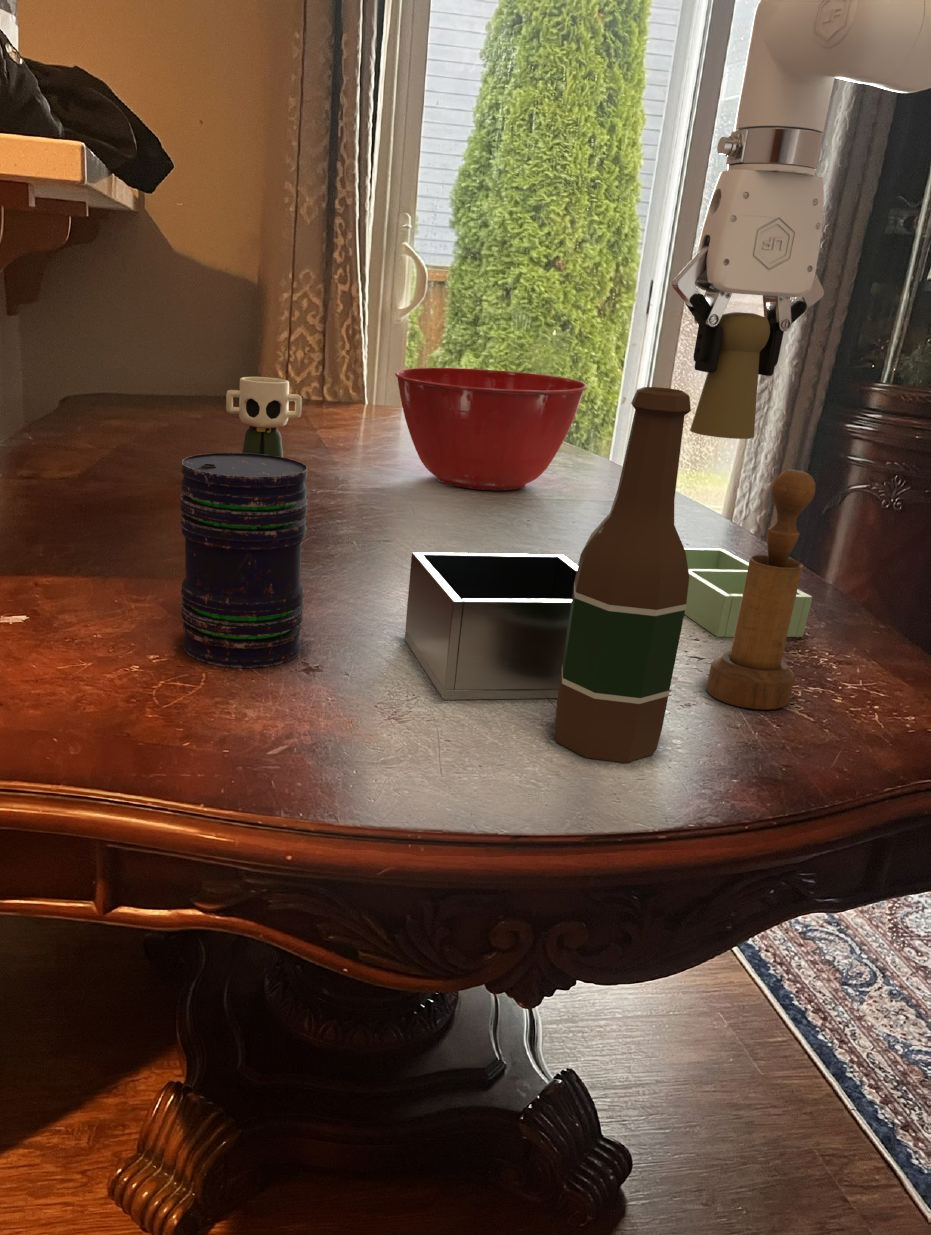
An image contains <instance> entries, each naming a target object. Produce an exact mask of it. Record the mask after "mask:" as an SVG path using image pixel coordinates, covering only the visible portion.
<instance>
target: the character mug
mask: <svg viewBox="0 0 931 1235" xmlns="http://www.w3.org/2000/svg"><path fill="white" fill-rule="evenodd" d="M225 396H226V398H225V402H226V403H225V410H226V413H228V414H230V415H231V414H232V415H238V417H239V419H240V422H241V423H242V424H243V425H245V426H248V428H247V429H246V432H245V434H244V440H243V445H242V452H241V453H251V454H263V455H271V456H278V457H283V458H284V448H283V440H282V439H283V438H282V434H281V432H280V431H279V430H278V429H279V428H282V427H284V426H286V425H287V424H288V421H289V419H290V418H292V419H299V418H301V416H302V406H303V398H302V395H300V394H295V393H290V381H289V380H287V379H283V378H278V377H267V376H243V377H240V378H239V389H228V390H226V394H225ZM234 398H239V405H238V406H234ZM290 402H294V410H289V403H290Z"/></svg>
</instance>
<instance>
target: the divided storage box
mask: <svg viewBox="0 0 931 1235" xmlns="http://www.w3.org/2000/svg"><path fill="white" fill-rule="evenodd" d="M684 549H685V552H686V558H687V565H688V571H689V584H688V593H687V602H686V608H685V613H684V616H686V617H688V618H689V619H690V620H692V621H693V622H695V623H696V624H698V625H699V626H700V627H702V628H703V629H705V630H706V631H708V632H709V633H710V634H712V635H714V636H715V637H716V638H734V634H735V630H736V625H737V620H738V615H739V610H740V605H741V600H742V595H743V590H744V585H745V580H746V575H747V570H748V565H749V561H746V560H745V559H743V558H741V557H740V556H737V555H735V554H733V553H732V552H730V551H728V550H726V549H724V548H709V547H708V548H707V547H705V548H704V547H702V548H701V547H684ZM812 601H813V596H812V595H810V594H808V593H806V592H804V591H802V590H801V589H799V588H798V590H797V594H796V598H795V603H794V607H793V611H792V616H791V620H790V625H789V629H788V634H787V638H803V637H804V634H805V630H806V626H807V622H808V618H809V614H810V610H811V606H812V603H813V602H812Z"/></svg>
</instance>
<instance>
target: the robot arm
mask: <svg viewBox="0 0 931 1235" xmlns="http://www.w3.org/2000/svg"><path fill="white" fill-rule="evenodd" d="M752 18H753V19H752V23H751V29H750V35H749V40H748V48H747V54H746V58H745V65H744V71H743V76H742V82H741V88H740V93H739V100H738V105H737V110H736V117H735V123H734V128H733V130H732V131H731V135H730V136H722V137H721V138H719V139H718V142H717V147H716V151H717V153H718V155H724V156H725V157H726V165H727V169H726V170H722V171H720V172H719V176H718V178H717V180H716V182H715V186H714V189H713V191H712V194H711V198H710V200H709V203H708V206H707V209H706V214H705V216H704V220H703V224H702V227H701V233H700V237H699V241H698V244H697V245H698V246H697V251H696V254H695V256H694V257H693V258H692V259H691V260H689V262H688V263H687V264H686V266H684V267H683V269H682V270H681V271H680V272H679V273H678V274H677V275H676V276H675V277H674V278H673V280H672V282H671V286H672V288H673V290H674V291H675V292H676V293H677V294H678V296H679V297H680V298H681V299H682V300H683V301H684V304H685V306H686V307H687V309H688V310H689V312H690V313H691V316H693V321H694V324H696V325H697V326H698V327H697V334H696V337H695V344H694V351H693V361H694V370H695V371H698V372H702V373H703V372H704V373H706V374H707V373H713V372H715V371H716V369H717V364H718V359H719V353H720V348H721V342H722V337H723V328H722V327H719V322H720V319H721V317H722V315H723V314H725V310H726V309H727V306H728V304H729V301H730V299H731V297H732V295H733V294H737V295H738V294H739V295H752V296H762V306H763V317H765V318H766V319H767V320H768V322H769V325H770V335H769V339H768V341H767V344H766V346H765V347H764V348H763V349H762V350H761V351H760V355H759V370H758V375H759V376H765V377H773V375H774V371H775V367H776V366H777V364H778V363H779V357H780V353H781V349H782V348H781V347H782V343H783V338H784V334H785V332H788V331H789V330H790V329H791V327H792V324H793V323H794V322H795V321H797V320H798V319H799V318H800V317H802V315H803V314H804V313H805V312H806V310H807V309H810V308H811V307H812V306H813V305H815V304H816V303H817V302H818V301H820V300H821V299H823V298H824V296H825V289H824V288H823V285H822V283H821V281H820V279H819V276H818V274H817V272H816V271H817V267H818V266H817V265H818V258H819V252H820V246H821V239H822V238H821V237H822V229H823V220H824V202H825V201H824V200H825V196H824V195H825V192H824V191H825V188H824V187H825V183H824V176H823V177H822V176H818V175H817V176H816V172H817V167H818V162H819V157H820V152H821V147H822V143H823V137H824V133H825V126H826V121H827V117H828V113H829V108H830V103H831V97H832V92H833V87H834V82H835V79H839V80H843V81H847V82H851V83H852V82H853V83H857V84H862V85H863V84H864V85H869V86H872V87H875V88H879V89H883V90H886V91H890V92H895V93H900V94H911V93H917V92H918V93H919V92H922V91H926V90H928V89H931V0H759V1H758V3H757V5H756V7H755V10H754V14H753V17H752ZM698 289H700V290H702V291H705V293H704V294H702V293H700V291H699V290H698ZM791 298H794V299H792V300H791Z"/></svg>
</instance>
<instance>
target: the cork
mask: <svg viewBox="0 0 931 1235" xmlns="http://www.w3.org/2000/svg"><path fill="white" fill-rule="evenodd" d="M719 327H722V328H723V337H722V342H721V348H720V353H719V359H718V364H717V369H716V371H715V372H713V373H707V372H706V377H705V380H704V383H703V387H702V390H701V393H700V397H699V399H698V402H697V406H696V409H695V413H694V415H693V419H692V421H691V426H690V429H689V431H690V432H691V433H693V434H696V435H700V436H701V435H702V436H707V437H714V438H723V439H735V440H747V439H748V440H749V439H754V438H755V428H756V427H755V426H756V412H757V399H758V386H759V385H758V384H759V383H758V382H759V374H758V370H759V355H760V351H761V350H762V349H763V348H764V347H765V346H766V344H767V341H768V339H769V335H770V325H769V322H768V320H767V319H766V318H765V317H764V315H763V316H762V315H760V314H757V313H752V312H742V311H733V312H732V311H731V312H727V313H726V312H725V313H723V315H722V317H721V319H720V322H719Z"/></svg>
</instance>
